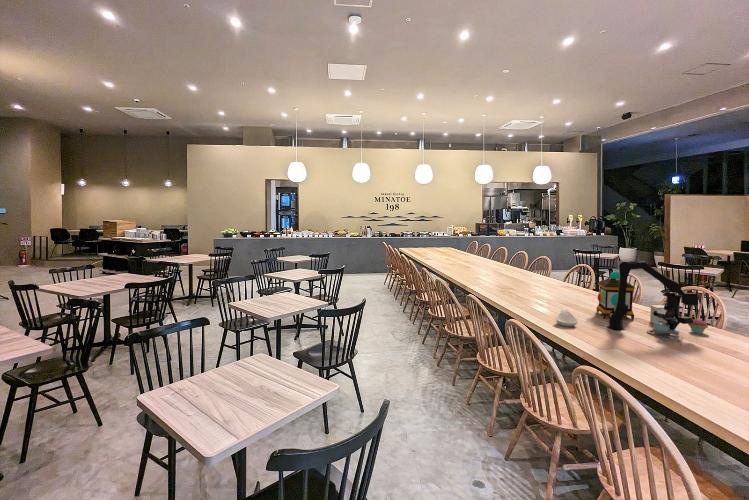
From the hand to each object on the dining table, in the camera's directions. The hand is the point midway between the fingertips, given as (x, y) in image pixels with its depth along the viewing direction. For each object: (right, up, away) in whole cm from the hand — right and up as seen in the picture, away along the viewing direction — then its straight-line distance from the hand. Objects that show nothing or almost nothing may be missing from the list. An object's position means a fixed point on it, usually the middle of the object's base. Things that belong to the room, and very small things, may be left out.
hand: (671, 331), depth 214 cm
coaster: (-8, -2, -8) cm, 12 cm away
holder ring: (-7, -1, +1) cm, 7 cm away
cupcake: (+17, -1, +3) cm, 17 cm away
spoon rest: (-46, 0, +26) cm, 53 cm away
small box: (+9, 0, +22) cm, 24 cm away
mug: (-4, -1, 0) cm, 4 cm away
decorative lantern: (-7, +2, +40) cm, 40 cm away
